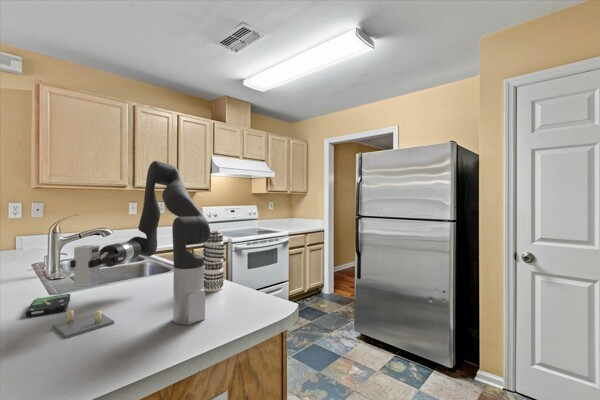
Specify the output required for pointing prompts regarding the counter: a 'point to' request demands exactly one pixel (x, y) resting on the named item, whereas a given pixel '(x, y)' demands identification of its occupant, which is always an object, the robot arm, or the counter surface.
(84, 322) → the grey plate with pegs
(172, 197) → the robot arm
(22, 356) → the counter surface
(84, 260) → the grey upright block
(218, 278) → the decorative candle
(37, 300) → the disk drive
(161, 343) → the counter surface
